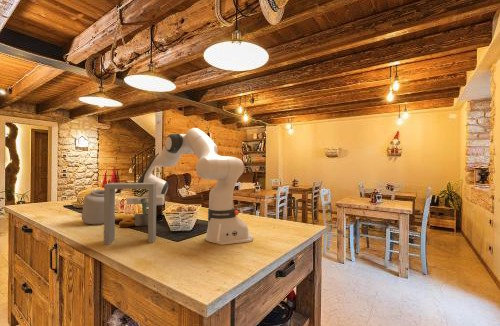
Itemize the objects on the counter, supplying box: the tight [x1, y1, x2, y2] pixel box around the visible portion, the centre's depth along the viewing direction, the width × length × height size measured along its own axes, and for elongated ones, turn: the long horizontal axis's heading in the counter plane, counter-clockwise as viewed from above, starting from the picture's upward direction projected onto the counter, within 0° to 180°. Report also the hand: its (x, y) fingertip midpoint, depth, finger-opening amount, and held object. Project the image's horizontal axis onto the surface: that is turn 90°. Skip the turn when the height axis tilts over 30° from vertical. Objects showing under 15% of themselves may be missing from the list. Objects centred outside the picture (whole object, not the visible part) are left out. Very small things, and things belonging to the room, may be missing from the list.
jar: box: [81, 179, 104, 226], centre depth 143 cm, size 19×15×25 cm
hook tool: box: [134, 198, 148, 227], centre depth 139 cm, size 10×16×2 cm
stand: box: [103, 182, 157, 246], centre depth 112 cm, size 20×7×26 cm, turn 100°
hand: (142, 201), depth 136 cm, fingers closed on hook tool, 2 cm apart
